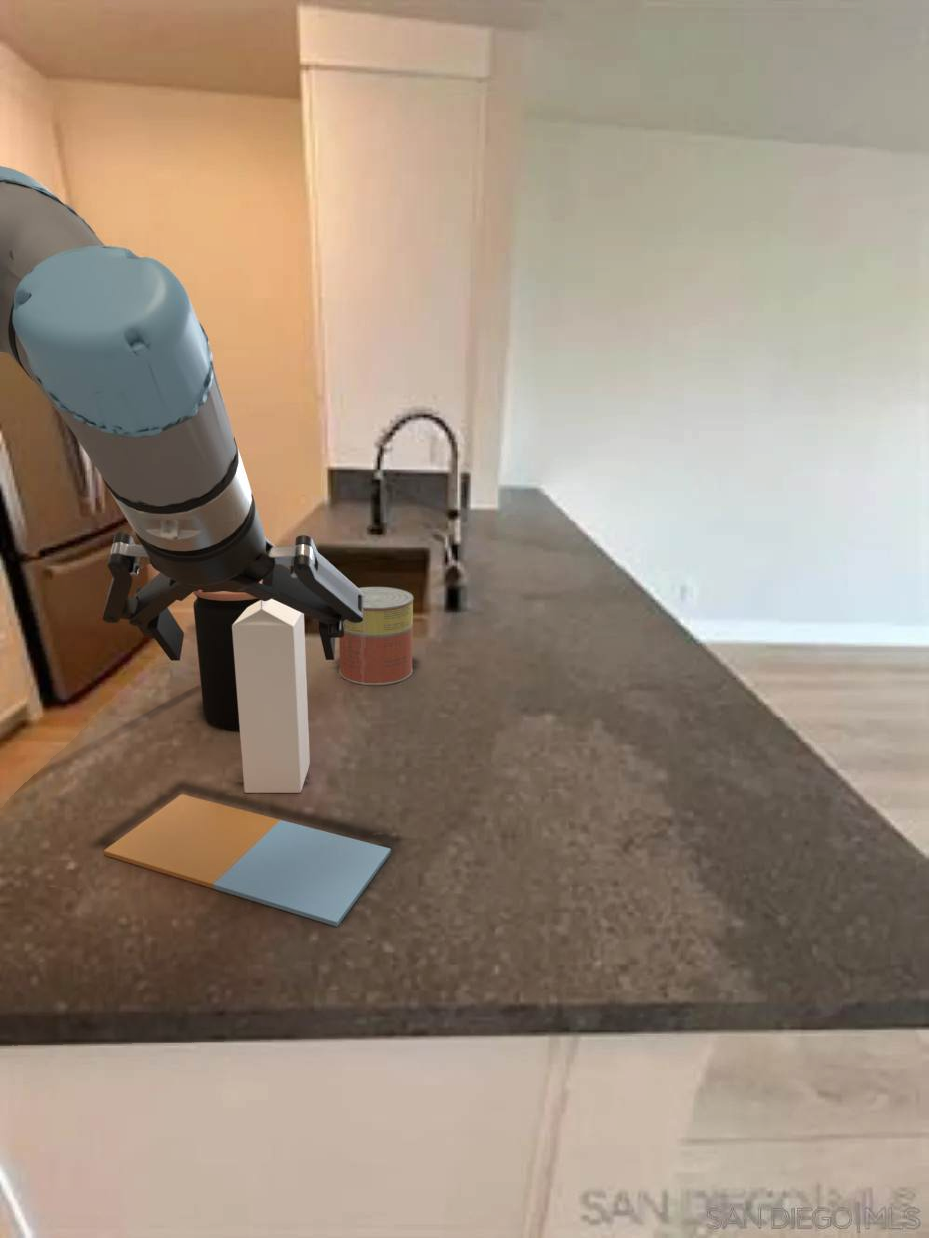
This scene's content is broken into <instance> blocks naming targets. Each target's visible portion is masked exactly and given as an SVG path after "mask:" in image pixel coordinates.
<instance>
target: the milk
mask: <svg viewBox="0 0 929 1238" xmlns="http://www.w3.org/2000/svg"><path fill="white" fill-rule="evenodd" d="M305 631H306V630H305V614H303V613H301V612H299V611H297V610H295V609H293V608H290V607H288V606H286V605H284V604H282V603H280V602H278V601H275V600H273V599H270V600H268V601H262V600H260V601H258V602H256V603H254V604H252V605H251V606H249V607H247V608H246V610H245V611H244V612H243V613H242V614H241V615H240V617H239V618H238V619H237V620H236V621H235V622H234V624H233V625H232V634H233V647H234V660H235V673H236V686H237V700H238V713H239V726H240V729H239V738H240V749H241V750H240V751H241V764H242V778H243V790H244V793H245V794H301V793H302V791H303V787H304V784H305V782H306V781H305V780H306V778H307V775H308V772H309V768H310V765H311V759H310V757H311V755H310V735H309V733H310V732H309V731H310V730H309V729H310V728H309V714H308V713H309V708H308V707H309V706H308V684H307V683H308V682H307V659H306V658H307V656H306V636H305V633H306V632H305Z"/></svg>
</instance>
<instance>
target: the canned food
mask: <svg viewBox="0 0 929 1238" xmlns="http://www.w3.org/2000/svg"><path fill="white" fill-rule="evenodd" d="M358 588H359V589H360V590H361V591H362V592H363V593H364V604H363V621H362V622H360V623H352V622H350V621H348V620H347V619H346V620H345V633H344V636H343V637H342V638H338V645H339V646H338V649H339V651H338V652H339V670H338V674H339V675H340V677H341V678H342V679H344V680H345V681H347V682H350V683H353V684H356V685H362V686H374V687H375V686H388V685H393V684H398V683H400V682H403V681H405V680H407V679H409V678H410V677H411V676H412V674H413V672H414V670H413V627H414V626H413V621H414V599H415V597H414V595H413V594H412V593H411V592H409V591H407V590H404V589H400V588H396V587H388V586H363V587H358Z"/></svg>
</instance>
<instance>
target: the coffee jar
mask: <svg viewBox="0 0 929 1238" xmlns="http://www.w3.org/2000/svg"><path fill="white" fill-rule="evenodd" d="M262 580H263V579H262ZM262 580H261V581H260V582H259V583H261V584H262ZM192 594H193V595H194V596H195V597H196V599H195V600H194V601H193V606H192V607H193V615H194V616H193V617H194V627H195V636H196V648H197V659H198V669H199V681H200V691H201V698H202V699H201V702H202V709H203V712H204V715H205V717H206V718H207V719H209V721H210V722H211V723H212V724H213V725H214V726H217V727H218V728H222V729H228V730H235V731H236V730H237V731H238V730H240V726H239V713H238V700H237V686H236V673H235V660H234V647H233V634H232V625H233V624H234V622H235V621H236V620H237V619H238V618H239V617H240V615H241V614H242V613H243V612H244V611H245V610H246V608H247V607H249V606H251V605H252V604H254V603H256V602H258V601H260V599H258V598H256V597H254V596H251V595H249V594H247V593H235V592H227V591H220V592H202V590H198V591H194V592H192Z"/></svg>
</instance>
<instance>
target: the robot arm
mask: <svg viewBox="0 0 929 1238" xmlns="http://www.w3.org/2000/svg"><path fill="white" fill-rule="evenodd" d="M209 345H210V340H209V337H208V335H207V333H206V331H205V329H204V326H203V325H202V323H201V322H200V321H199V319H198V316H197V314H196V311H195V310H194V306H193V303H192V302H191V299H190V297H189V294H188V292H187V290H186V288H185V286H184V285H183V284H182V282H181V281H180V279H179V277H177V275H176V274H175V272H173V271H172V270H171V269H170V268H168V267H167V265H165V264H163V263H162V262H161V261H159V260H158V259H156V258H154V257H149V256H143V257H140V256H138V255H137V254H136V253H134V252H133V251H132V250H130V249H128V248H127V247H126V248H125V247H121V246H115V245H105V243H104V242H103V241H102V240H101V239H100V238H99V237H98V236H97V234H96V232H95V231H94V230H93V228H92V227H91V225H90V224H89V223H87V222H86V220H85V218H84V217H82V216H80V215H79V214H78V213H77V212H76V210H74V208H72V206H71V205H68V204H65V203H64V202H63V201H62V200H61V199H60V198H59V196H57V195H56V194H54V193H53V192H52V191H51V190H50V189H48V188H47V187H46V186H45V185H44V184H42V183H41V182H40V181H38V180H37V179H35V178H33V177H32V176H30V175H28V174H26V173H24V172H21V171H20V170H16V169H14V168H11V167H6V166H2V165H0V353H6V354H9V355H10V357H12V358H13V360H14V361H15V362H16V363H17V364H18V366H19V367H21V369H22V370H23V371H24V372H25V374H26V375H27V377H29V378H30V379H31V380H32V381H33V383H35V385H36V387H38V388H39V390H40V391H41V393H43V395H44V396H45V397H46V398H47V400H48V401H49V402H50V404H51V405H52V406H53V407H54V409H55V410H56V411H57V412H58V414H59V415H60V417H61V418H62V419H63V420H64V421H65V424H66V425H67V426H68V427H69V429H70V430H71V432H72V433H73V435H74V436H75V438H76V439H77V441H78V443H79V444H80V446H81V447H82V449H83V450H84V452H85V453H86V455H87V457H88V458H89V459H90V461H91V462H92V464H93V465H94V467H95V468H96V471H98V473H99V475H100V476H101V479H102V481H103V483H104V485H105V486H106V487H107V489H108V491H109V492H110V494H111V496H112V498H113V499H114V501H115V502H116V504H117V505H118V507H119V509H120V511H121V513H122V514H123V515H124V518H125V519H126V520H127V522H128V524H129V525H130V527H131V529H132V530H133V531H134V533H135V535H136V537H137V539H138V541H139V543H140V544H136V542H135V540H134V538H133V536H131V535H130V534H127V533H123V532H118V533H116V534H114V536H113V541H112V545H111V548H110V554H109V557H108V562H107V568H108V570H109V572H110V574H111V576H112V578H111V580H110V584H109V588H108V591H107V596H106V600H105V605H104V608H103V613H102V618H101V619H102V621H103V622H105V623H107V624H108V623H110V624H117V623H119V622H120V620H121V619H122V620H128V623H129V624H130V625H132V626H133V627H137V628H138V629H139V630H140V632H141V633H142V635H143V636H144V637H146V638H148V639H154V640H155V641H156V643H157V644H158V645H159V647H160V648H161V649H162V650H163V652H164V653H165V654H166V656H167V657H168V658H169V660H170V661H172V662H173V661H174V662H176V661H177V662H178V661H179V662H180V661H181V655H182V649H183V644H184V639H185V637H184V636H185V632H184V631H183V629H182V628H181V626H180V625H179V623H178V621H177V620H176V618H175V617H174V615H173V614H172V612H171V610H170V609H169V607H170V606H171V605H172V604H174V603H175V602H176V601H179V602H183V601H184V600H185V599H186V598H188V597H189V596H190V595H191V594H193V592H194V591H198V590H202V592H220V591H227V592H235V593H247V594H249V595H251V596H254V597H256V598H258V599H260V600H262V601H268V600H270V599H273V600H275V601H278V602H280V603H282V604H284V605H286V606H288V607H290V608H293V609H295V610H297V611H299V612H301V613H303V614H304V616H308V617H310V618H312V619H314V620H316V621H318V632H319V636H320V640H321V645H322V649H323V653H324V658H325V660H326V661H335V652H336V651H335V650H336V638H338V639H339V638H342V637H343V636H344V633H345V620H346V619H347V620H348V621H350V622H352V623H360V622H362V621H363V604H364V593H363V592H362V591H361V590H360V589H359V588H360V587H357V585H356V584H354V582H353V581H351V580H350V579H349V578H347V577H346V576H345V575H344V574H343V573H342V572H341V571H340V570H338V569H337V568H336V567H335V566H334V565H333V564H332V563H330V561H329V560H328V559H326V558H325V557H324V556H323V555H322V554H320V553H319V551H318V549H317V547H316V544H315V542H314V540H313V538H312V537H311V536H309V535H306V534H305V535H304V534H300V535H298V536H296V538H295V542H294V543H295V544H294V545H279V546H275V544H274V543H273V542H272V541H270V540H269V539H268V538H267V537H266V535H265V532H264V527H263V524H262V521H261V517H260V514H259V511H258V508H257V504H256V501H255V498H254V495H253V493H252V492H253V491H252V488H251V485H250V482H249V478H248V475H247V473H246V468H245V466H244V463H243V459H242V456H241V454H240V450H239V448H238V445H237V442H236V438H235V435H234V431H233V428H232V425H231V421H230V418H229V415H228V411H227V407H226V404H225V400H224V398H223V393H222V391H221V388H220V384H219V380H218V377H217V374H216V370H215V367H214V358H213V357H214V356H213V352H212V350H211V349H210V346H209ZM147 565H150V566H151V567H152V568H153V569H154V570H155V571H157V572H159V573H158V574H156V575H155V576H154V577H153V578H152V579H151V580H149V581H148V583H146V584H145V585H144V586H142V587H139V586H136V587H135V593H134V596H133V597H130V596H129V595H130V592H131V588H132V585H133V580H134V578H137V577H138V576H139V574H140V571H143V570H145V567H146V566H147ZM262 579H263V580H262ZM261 580H262V584H261V583H259V582H260V581H261Z"/></svg>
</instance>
